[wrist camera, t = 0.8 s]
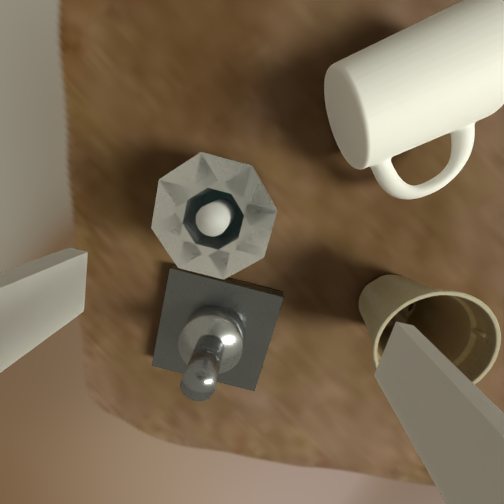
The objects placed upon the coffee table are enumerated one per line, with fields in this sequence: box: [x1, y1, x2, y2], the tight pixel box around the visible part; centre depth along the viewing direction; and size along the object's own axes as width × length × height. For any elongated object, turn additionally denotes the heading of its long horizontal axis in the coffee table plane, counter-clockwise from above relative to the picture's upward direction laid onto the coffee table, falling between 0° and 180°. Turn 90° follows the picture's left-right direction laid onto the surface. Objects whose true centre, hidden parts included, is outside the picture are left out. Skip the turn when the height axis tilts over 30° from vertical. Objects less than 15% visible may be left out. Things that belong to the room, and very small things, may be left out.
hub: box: [152, 264, 284, 401], centre depth 26 cm, size 12×12×9 cm
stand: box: [196, 189, 244, 236], centre depth 24 cm, size 7×7×8 cm
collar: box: [151, 152, 277, 280], centre depth 23 cm, size 9×9×6 cm
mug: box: [324, 0, 504, 199], centre depth 21 cm, size 12×10×8 cm
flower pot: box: [359, 275, 501, 384], centre depth 25 cm, size 9×9×9 cm
